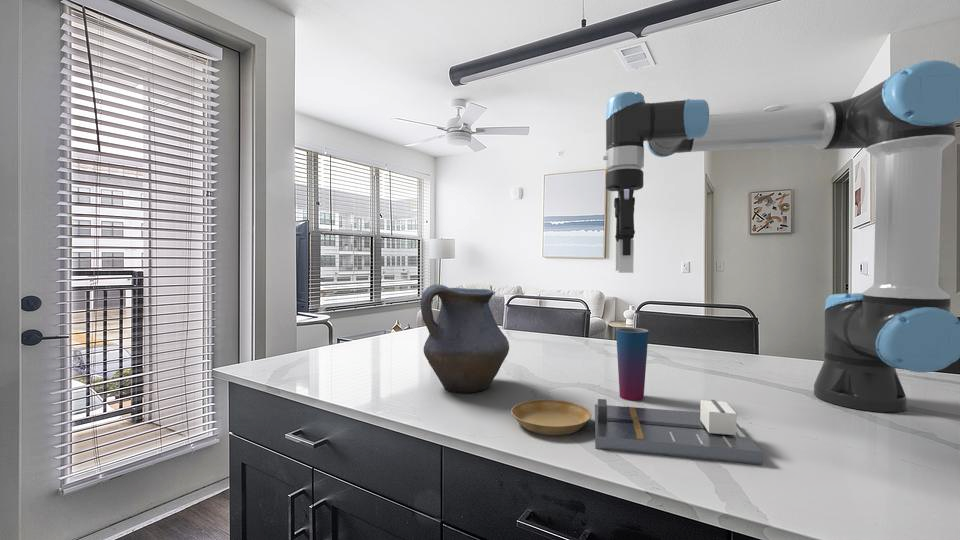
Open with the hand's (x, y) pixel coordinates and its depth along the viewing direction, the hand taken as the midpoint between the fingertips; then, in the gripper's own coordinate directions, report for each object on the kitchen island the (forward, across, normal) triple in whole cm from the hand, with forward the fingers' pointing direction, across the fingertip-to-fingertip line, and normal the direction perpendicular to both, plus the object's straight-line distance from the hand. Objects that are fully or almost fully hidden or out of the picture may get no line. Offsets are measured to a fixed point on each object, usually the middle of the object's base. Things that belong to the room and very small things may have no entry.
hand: (623, 271), depth 93 cm
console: (+28, +17, +6) cm, 33 cm away
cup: (+28, -4, +2) cm, 29 cm away
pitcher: (+28, -2, -36) cm, 46 cm away
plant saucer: (+28, +16, -14) cm, 35 cm away
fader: (+26, +17, +14) cm, 34 cm away
